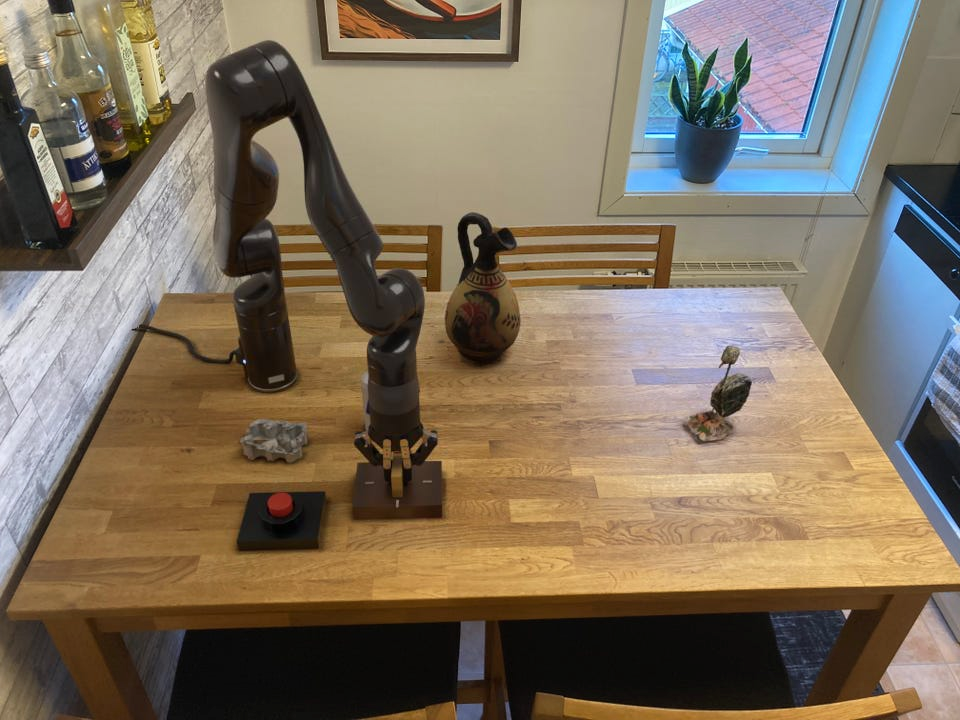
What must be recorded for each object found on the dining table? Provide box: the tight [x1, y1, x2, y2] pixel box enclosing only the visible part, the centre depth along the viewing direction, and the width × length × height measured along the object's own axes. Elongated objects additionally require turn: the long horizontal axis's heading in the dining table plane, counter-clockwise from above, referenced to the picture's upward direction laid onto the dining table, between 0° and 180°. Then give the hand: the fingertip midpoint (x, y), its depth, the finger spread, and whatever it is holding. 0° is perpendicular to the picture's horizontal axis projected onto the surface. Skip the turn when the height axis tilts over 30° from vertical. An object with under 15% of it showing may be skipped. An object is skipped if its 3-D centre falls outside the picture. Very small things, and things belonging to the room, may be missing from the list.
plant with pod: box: [683, 345, 755, 443], centre depth 133 cm, size 8×11×20 cm
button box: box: [236, 490, 328, 552], centre depth 117 cm, size 12×10×4 cm
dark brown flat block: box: [351, 460, 443, 521], centre depth 123 cm, size 14×11×3 cm
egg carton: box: [238, 418, 308, 464], centre depth 131 cm, size 11×8×4 cm
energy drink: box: [360, 370, 370, 431], centre depth 134 cm, size 5×5×12 cm
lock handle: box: [391, 451, 403, 497], centre depth 121 cm, size 6×2×5 cm, turn 2°
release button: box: [268, 493, 293, 517], centre depth 116 cm, size 4×4×2 cm
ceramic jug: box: [444, 211, 522, 367], centre depth 149 cm, size 17×15×30 cm
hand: (398, 480), depth 122 cm, fingers closed on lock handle
